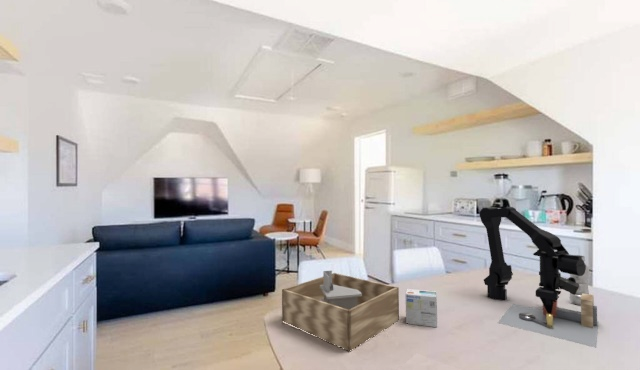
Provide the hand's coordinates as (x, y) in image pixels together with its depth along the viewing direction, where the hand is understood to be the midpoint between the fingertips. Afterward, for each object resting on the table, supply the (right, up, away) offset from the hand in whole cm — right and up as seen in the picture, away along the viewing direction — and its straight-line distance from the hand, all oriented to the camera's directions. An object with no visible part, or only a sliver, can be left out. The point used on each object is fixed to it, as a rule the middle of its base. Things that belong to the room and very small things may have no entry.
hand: (550, 311), depth 116 cm
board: (-5, -2, -6) cm, 8 cm away
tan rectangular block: (+8, -1, -7) cm, 11 cm away
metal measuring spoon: (-9, -1, -6) cm, 11 cm away
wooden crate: (-78, -3, -2) cm, 78 cm away
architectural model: (-78, -4, -3) cm, 78 cm away
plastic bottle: (+20, -2, +11) cm, 23 cm away
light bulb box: (-49, -3, -3) cm, 49 cm away
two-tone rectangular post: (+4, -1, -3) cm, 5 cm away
